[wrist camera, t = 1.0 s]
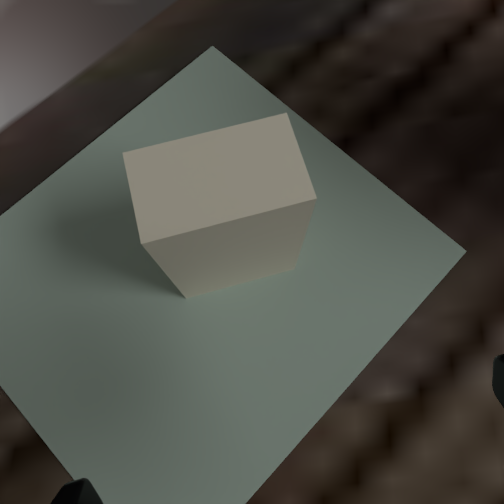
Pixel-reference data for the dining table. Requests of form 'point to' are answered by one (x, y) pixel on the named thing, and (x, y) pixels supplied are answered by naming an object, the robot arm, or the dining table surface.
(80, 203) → the rubber mat
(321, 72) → the dining table surface
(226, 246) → the card box
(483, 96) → the dining table surface
